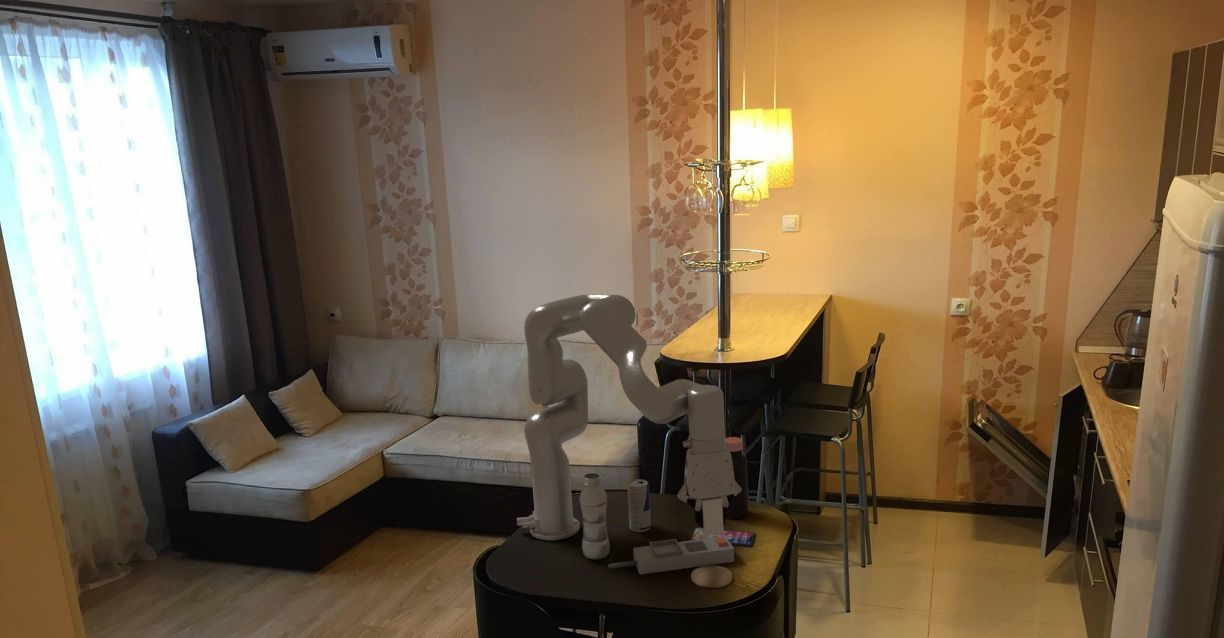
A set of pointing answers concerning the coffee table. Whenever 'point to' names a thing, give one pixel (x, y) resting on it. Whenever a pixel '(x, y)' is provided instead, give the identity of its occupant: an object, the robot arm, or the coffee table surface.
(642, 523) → the energy drink
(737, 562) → the coffee table surface
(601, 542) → the plastic bottle
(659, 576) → the coffee table surface
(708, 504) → the block
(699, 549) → the power strip
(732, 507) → the vinegar
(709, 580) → the coaster
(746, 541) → the smartphone
